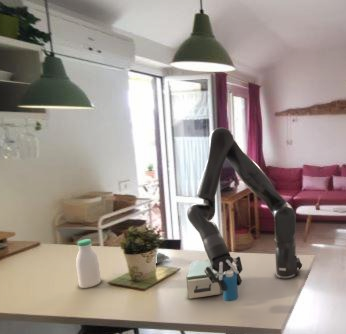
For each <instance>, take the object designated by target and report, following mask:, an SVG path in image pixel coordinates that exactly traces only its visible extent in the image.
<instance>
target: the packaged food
mask: <svg viewBox="0 0 346 334" xmlns="http://www.w3.org/2000/svg"><path fill="white" fill-rule="evenodd" d="M157 252H158V254H157V264H156V265H159V264H160V263H162V262H164V261H166V260H169V259H170V257H169V256H168V255H165V254H164V253H161V252H159V251H157Z"/></svg>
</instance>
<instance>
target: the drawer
mask: <svg viewBox="0 0 346 334" xmlns="http://www.w3.org/2000/svg"><path fill="white" fill-rule="evenodd" d="M216 278H217V275H216ZM187 282H188V290H187V294H188V293H189V299H197V298H203V296H204V297H210V295H211V296H217V294H218V295H221V294H220V286H219V284H218V283H217V282H215V283H212V282H211V280H210V279H209V277H201V278H193V279H191V280H188V281H187V280H186V283H187ZM189 299H188V300H189Z"/></svg>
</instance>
